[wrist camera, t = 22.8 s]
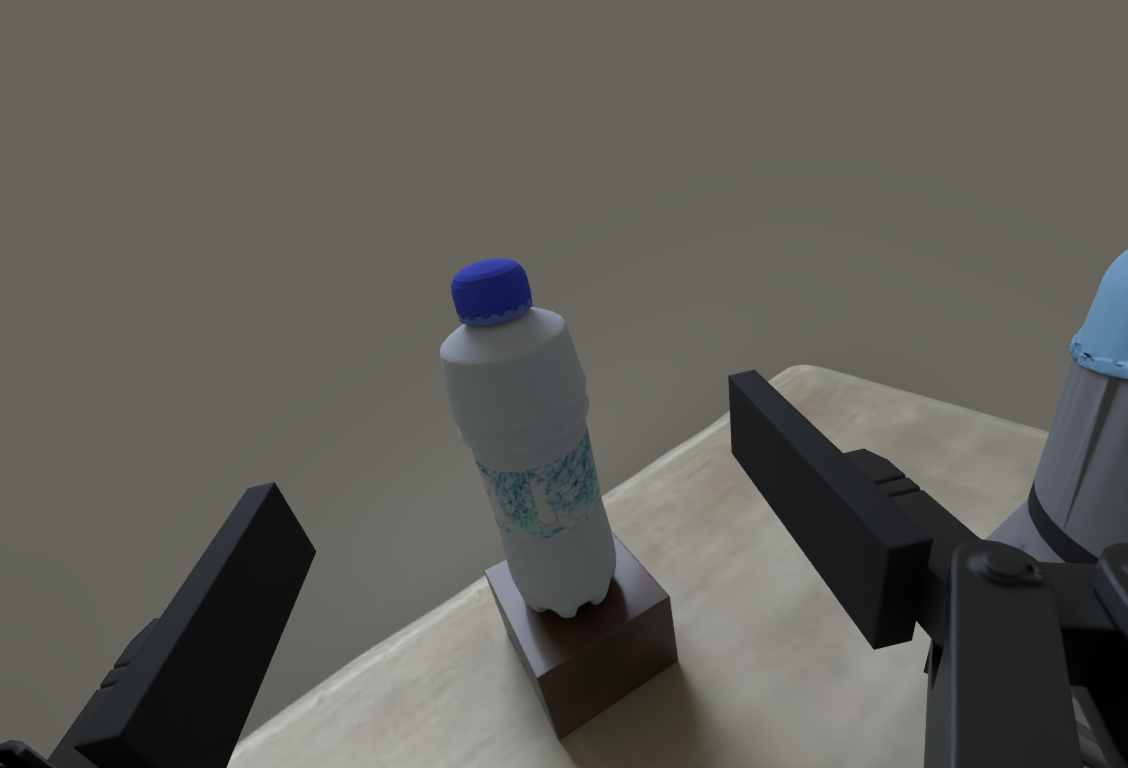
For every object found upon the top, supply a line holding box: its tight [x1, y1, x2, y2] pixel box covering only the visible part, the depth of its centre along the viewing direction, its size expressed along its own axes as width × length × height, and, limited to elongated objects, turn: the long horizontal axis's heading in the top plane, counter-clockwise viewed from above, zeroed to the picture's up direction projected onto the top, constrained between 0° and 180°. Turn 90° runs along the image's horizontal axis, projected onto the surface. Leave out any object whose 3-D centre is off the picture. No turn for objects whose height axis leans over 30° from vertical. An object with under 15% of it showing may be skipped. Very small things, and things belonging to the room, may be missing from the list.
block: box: [484, 532, 678, 740], centre depth 32 cm, size 8×8×6 cm
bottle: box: [440, 259, 617, 618], centre depth 26 cm, size 7×7×20 cm
